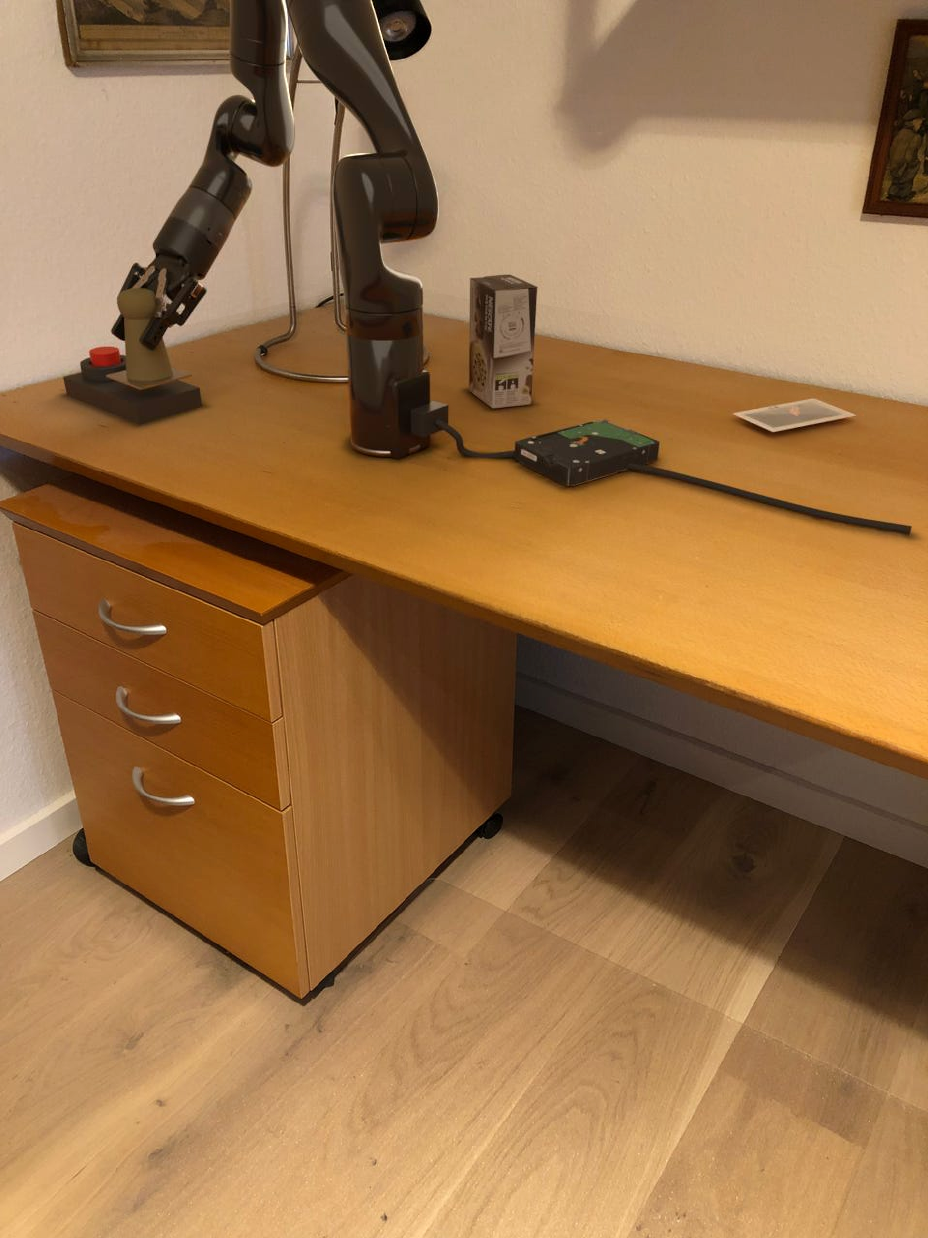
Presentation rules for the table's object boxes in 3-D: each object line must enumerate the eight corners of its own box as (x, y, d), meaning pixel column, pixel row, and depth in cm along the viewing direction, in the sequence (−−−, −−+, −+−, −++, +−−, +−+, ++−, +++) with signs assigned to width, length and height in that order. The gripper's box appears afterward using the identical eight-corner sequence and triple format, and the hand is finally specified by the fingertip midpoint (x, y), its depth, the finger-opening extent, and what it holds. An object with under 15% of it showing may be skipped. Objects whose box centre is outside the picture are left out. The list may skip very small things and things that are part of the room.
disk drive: (569, 491, 108) (659, 461, 116) (570, 468, 107) (661, 439, 114) (512, 462, 115) (600, 436, 123) (512, 440, 114) (602, 415, 121)
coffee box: (533, 404, 133) (539, 286, 125) (491, 409, 131) (494, 289, 123) (507, 385, 140) (511, 272, 132) (466, 390, 138) (468, 275, 130)
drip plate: (191, 376, 128) (191, 373, 128) (140, 389, 122) (140, 387, 122) (157, 364, 132) (157, 362, 132) (106, 377, 127) (105, 374, 127)
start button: (127, 363, 133) (124, 349, 132) (101, 369, 131) (99, 355, 130) (111, 358, 136) (108, 344, 135) (86, 364, 133) (83, 350, 132)
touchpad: (854, 422, 129) (858, 407, 127) (771, 439, 123) (774, 423, 122) (812, 405, 135) (815, 390, 133) (730, 421, 129) (733, 405, 127)
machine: (202, 406, 131) (198, 374, 128) (139, 425, 124) (133, 391, 122) (128, 379, 140) (123, 349, 138) (66, 395, 134) (60, 363, 132)
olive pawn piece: (179, 368, 130) (167, 285, 124) (163, 381, 124) (149, 295, 119) (136, 366, 130) (122, 283, 124) (118, 379, 125) (103, 293, 119)
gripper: (142, 208, 126) (79, 315, 124) (209, 220, 118) (142, 335, 116) (181, 245, 132) (121, 347, 131) (247, 259, 124) (184, 368, 123)
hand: (131, 341), depth 123 cm, fingers open, 6 cm apart
